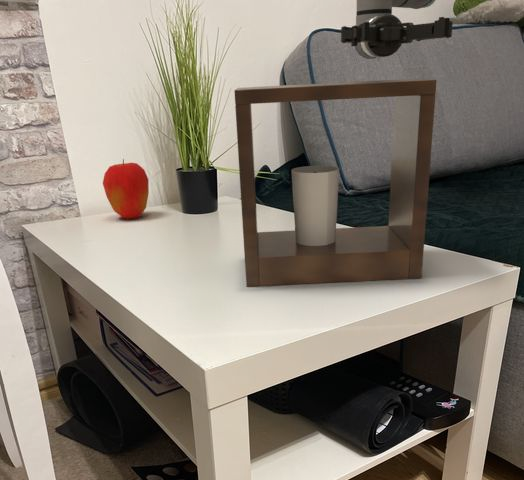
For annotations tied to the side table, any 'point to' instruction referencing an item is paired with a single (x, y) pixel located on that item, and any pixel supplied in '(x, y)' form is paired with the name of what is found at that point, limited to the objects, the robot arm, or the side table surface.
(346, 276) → the shelf unit
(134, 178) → the apple
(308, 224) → the drinking glass
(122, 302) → the side table surface
